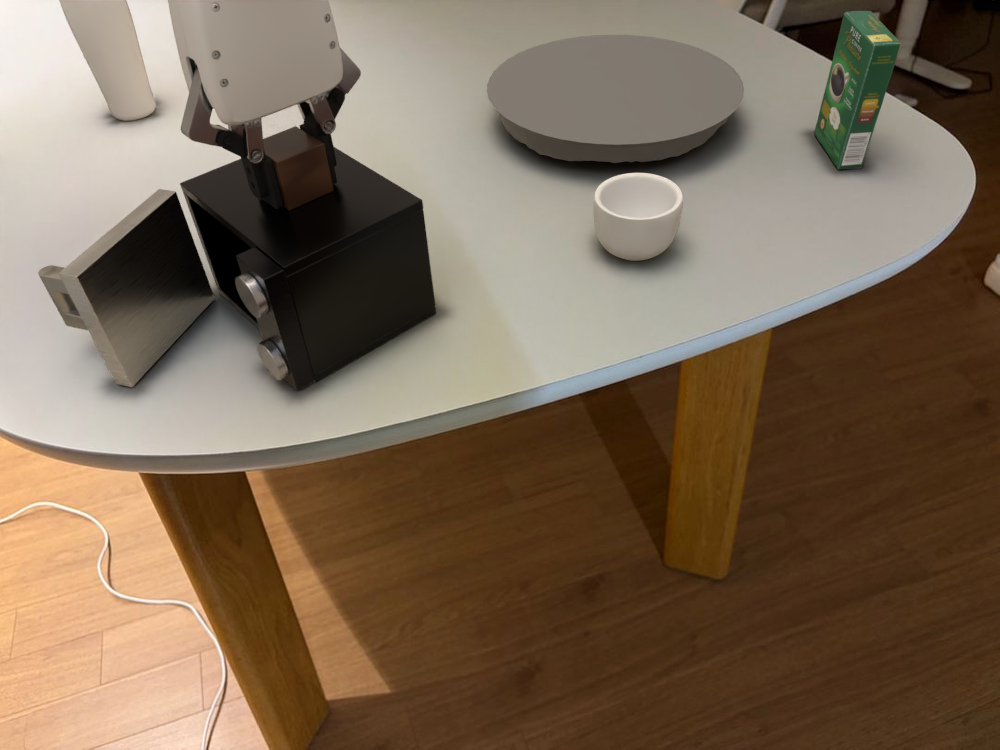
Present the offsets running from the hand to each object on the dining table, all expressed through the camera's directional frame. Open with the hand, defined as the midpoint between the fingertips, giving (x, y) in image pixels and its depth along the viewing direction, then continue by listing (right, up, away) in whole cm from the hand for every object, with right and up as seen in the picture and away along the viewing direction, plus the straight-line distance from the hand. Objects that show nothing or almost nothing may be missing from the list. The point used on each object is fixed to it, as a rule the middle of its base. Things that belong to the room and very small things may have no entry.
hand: (297, 187), depth 61 cm
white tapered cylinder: (-29, +18, +37) cm, 51 cm away
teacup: (+28, -2, +13) cm, 31 cm away
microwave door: (-15, -11, +6) cm, 19 cm away
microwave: (0, -9, +7) cm, 11 cm away
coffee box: (+51, +9, +23) cm, 57 cm away
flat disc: (+28, +14, +30) cm, 44 cm away
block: (0, 0, 0) cm, 0 cm away
